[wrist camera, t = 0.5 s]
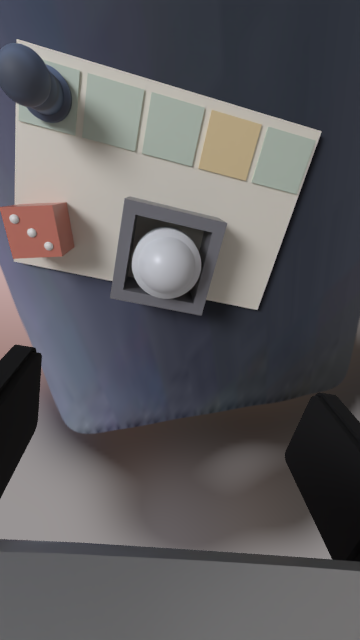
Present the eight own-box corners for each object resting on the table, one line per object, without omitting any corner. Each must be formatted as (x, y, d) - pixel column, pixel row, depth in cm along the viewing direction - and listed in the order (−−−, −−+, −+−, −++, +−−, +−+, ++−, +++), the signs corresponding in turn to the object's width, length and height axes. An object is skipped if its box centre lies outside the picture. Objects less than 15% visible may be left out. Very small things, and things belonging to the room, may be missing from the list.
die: (21, 204, 27) (-1, 207, 23) (66, 202, 27) (51, 205, 23) (31, 249, 29) (12, 259, 25) (74, 247, 29) (61, 256, 25)
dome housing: (129, 196, 27) (124, 198, 23) (218, 217, 28) (227, 223, 25) (116, 283, 30) (109, 298, 27) (196, 299, 32) (201, 315, 28)
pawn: (25, 60, 23) (-21, 19, 17) (74, 75, 23) (46, 39, 18) (23, 116, 24) (-19, 95, 18) (70, 128, 25) (43, 111, 19)
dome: (140, 218, 26) (136, 226, 21) (203, 233, 26) (212, 243, 22) (129, 280, 28) (124, 299, 23) (188, 292, 29) (194, 312, 24)
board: (21, 43, 23) (15, 37, 22) (317, 132, 27) (322, 131, 26) (17, 259, 30) (13, 262, 29) (255, 307, 33) (257, 310, 32)
